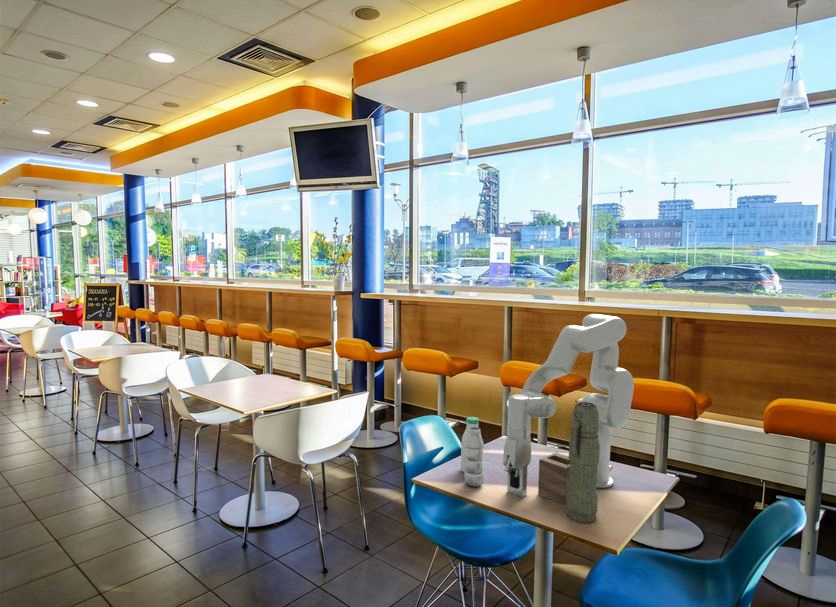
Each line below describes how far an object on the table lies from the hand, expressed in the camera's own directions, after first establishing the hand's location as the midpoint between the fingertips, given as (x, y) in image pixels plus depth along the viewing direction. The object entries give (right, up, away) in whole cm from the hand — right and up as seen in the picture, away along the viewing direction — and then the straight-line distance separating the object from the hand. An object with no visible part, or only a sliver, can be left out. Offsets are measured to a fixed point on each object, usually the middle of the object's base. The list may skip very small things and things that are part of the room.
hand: (517, 485), depth 171 cm
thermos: (+17, -4, -15) cm, 23 cm away
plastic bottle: (-14, -2, +6) cm, 15 cm away
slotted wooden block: (+14, -3, 0) cm, 14 cm away
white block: (0, -3, 0) cm, 3 cm away
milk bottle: (-13, -1, +19) cm, 23 cm away
